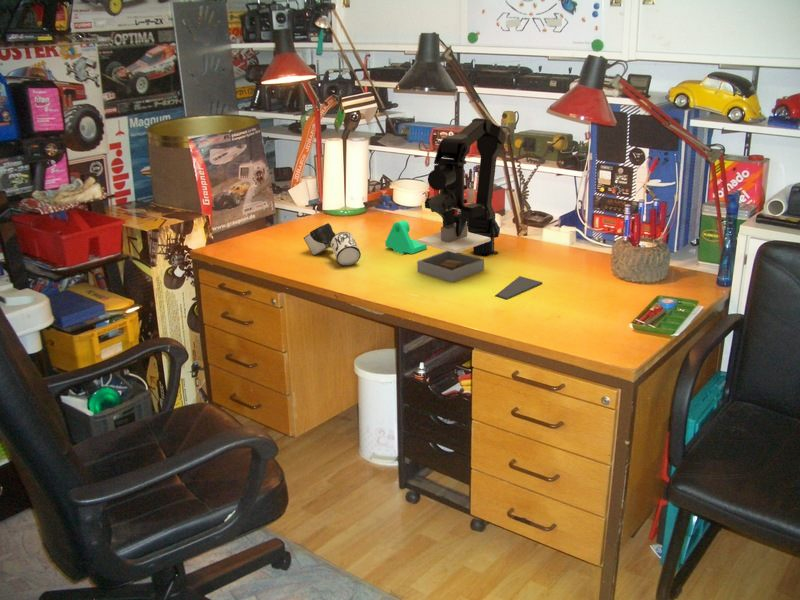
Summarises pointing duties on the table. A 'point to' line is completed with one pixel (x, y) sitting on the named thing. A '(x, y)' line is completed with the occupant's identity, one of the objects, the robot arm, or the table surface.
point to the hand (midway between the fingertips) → (454, 235)
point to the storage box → (433, 269)
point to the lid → (454, 239)
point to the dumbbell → (334, 244)
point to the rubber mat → (518, 287)
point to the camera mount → (403, 239)
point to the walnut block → (451, 264)
